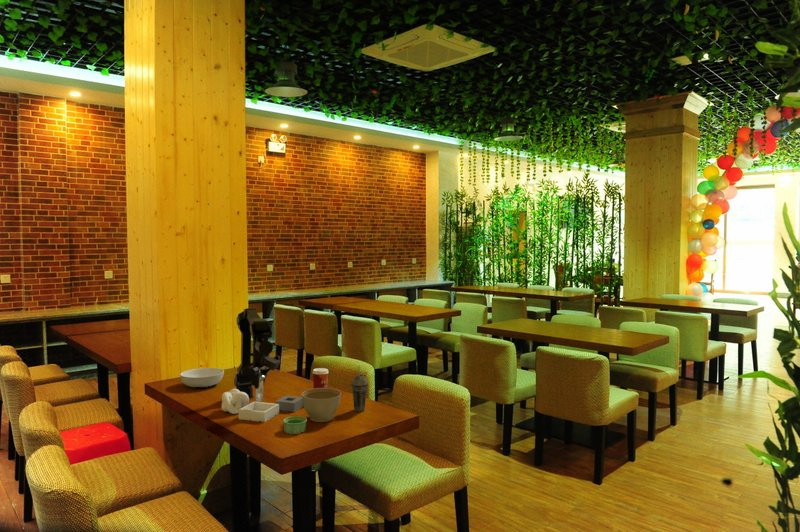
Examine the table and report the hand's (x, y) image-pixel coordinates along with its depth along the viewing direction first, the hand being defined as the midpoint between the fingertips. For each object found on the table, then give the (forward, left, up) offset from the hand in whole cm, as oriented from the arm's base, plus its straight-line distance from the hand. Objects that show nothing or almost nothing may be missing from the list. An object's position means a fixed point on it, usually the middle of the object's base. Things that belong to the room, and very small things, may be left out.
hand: (259, 387), depth 226 cm
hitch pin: (0, 0, -6) cm, 6 cm away
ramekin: (+22, -11, -13) cm, 28 cm away
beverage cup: (+37, +21, -12) cm, 44 cm away
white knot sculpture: (-14, +3, -12) cm, 19 cm away
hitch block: (+7, +14, -12) cm, 20 cm away
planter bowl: (+26, +5, -12) cm, 29 cm away
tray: (0, 0, -12) cm, 12 cm away
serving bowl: (-52, +34, -12) cm, 63 cm away
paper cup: (+14, +31, -12) cm, 36 cm away
